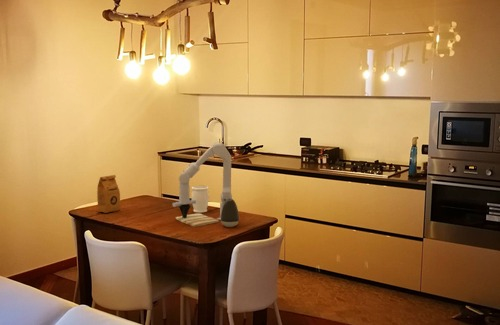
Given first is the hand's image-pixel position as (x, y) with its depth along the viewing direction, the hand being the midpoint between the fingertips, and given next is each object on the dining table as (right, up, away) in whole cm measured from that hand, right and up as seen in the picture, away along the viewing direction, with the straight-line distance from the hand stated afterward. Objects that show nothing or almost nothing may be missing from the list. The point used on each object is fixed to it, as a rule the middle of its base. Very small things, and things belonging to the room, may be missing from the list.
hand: (184, 217), depth 296 cm
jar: (+7, +1, +21) cm, 23 cm away
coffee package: (-48, +1, +20) cm, 52 cm away
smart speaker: (+26, -4, -12) cm, 29 cm away
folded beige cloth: (+11, -2, -6) cm, 13 cm away
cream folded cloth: (+4, -1, +2) cm, 5 cm away
